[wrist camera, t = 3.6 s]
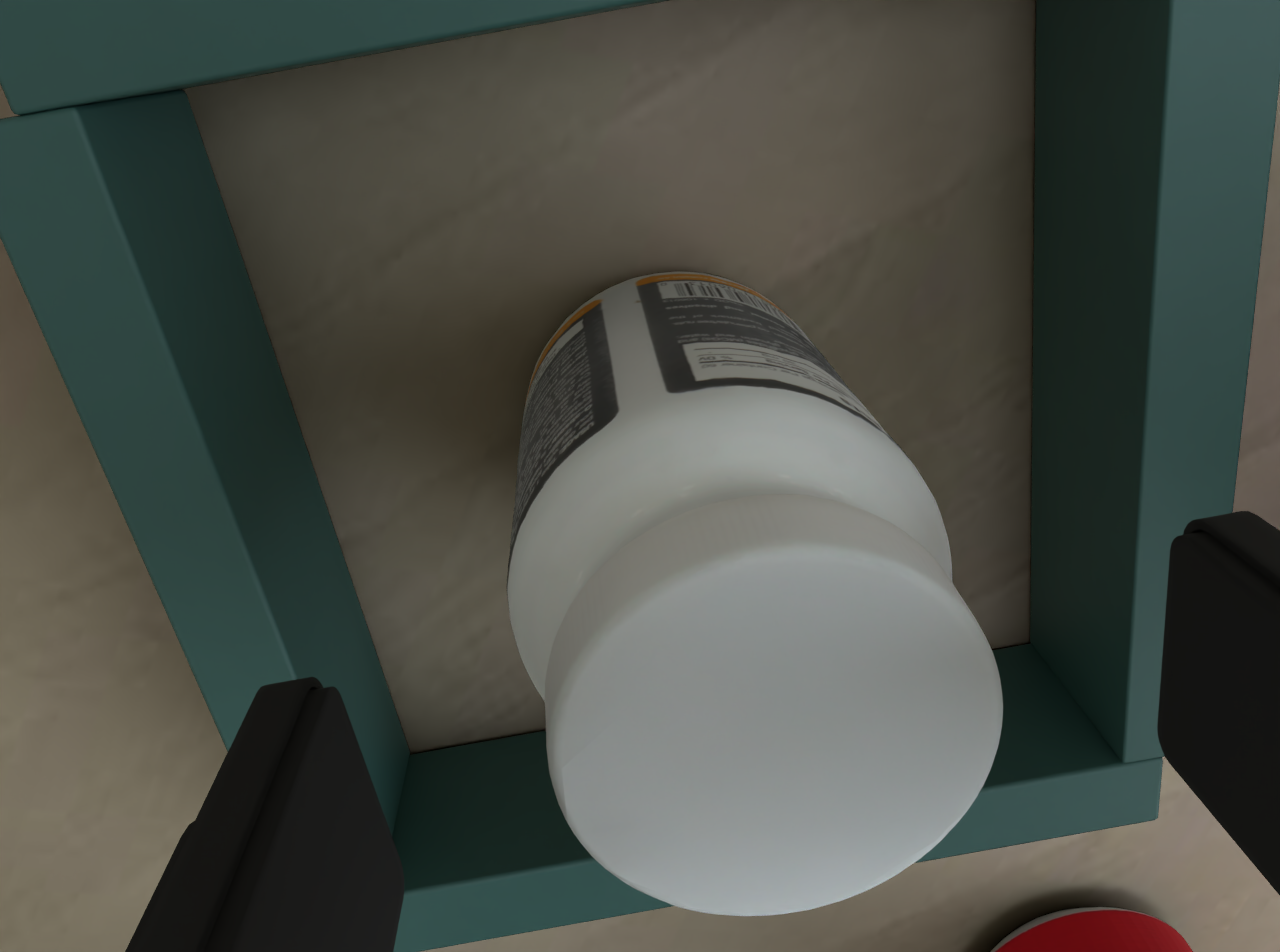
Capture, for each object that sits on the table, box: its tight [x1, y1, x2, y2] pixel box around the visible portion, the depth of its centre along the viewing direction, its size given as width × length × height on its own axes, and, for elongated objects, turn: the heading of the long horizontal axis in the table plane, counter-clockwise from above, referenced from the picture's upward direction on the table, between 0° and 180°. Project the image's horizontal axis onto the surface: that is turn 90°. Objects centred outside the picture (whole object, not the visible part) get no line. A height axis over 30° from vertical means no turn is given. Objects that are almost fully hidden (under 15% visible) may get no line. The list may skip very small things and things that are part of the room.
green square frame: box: [0, 0, 1280, 952], centre depth 17 cm, size 17×17×4 cm
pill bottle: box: [507, 272, 1003, 916], centre depth 14 cm, size 6×6×10 cm
